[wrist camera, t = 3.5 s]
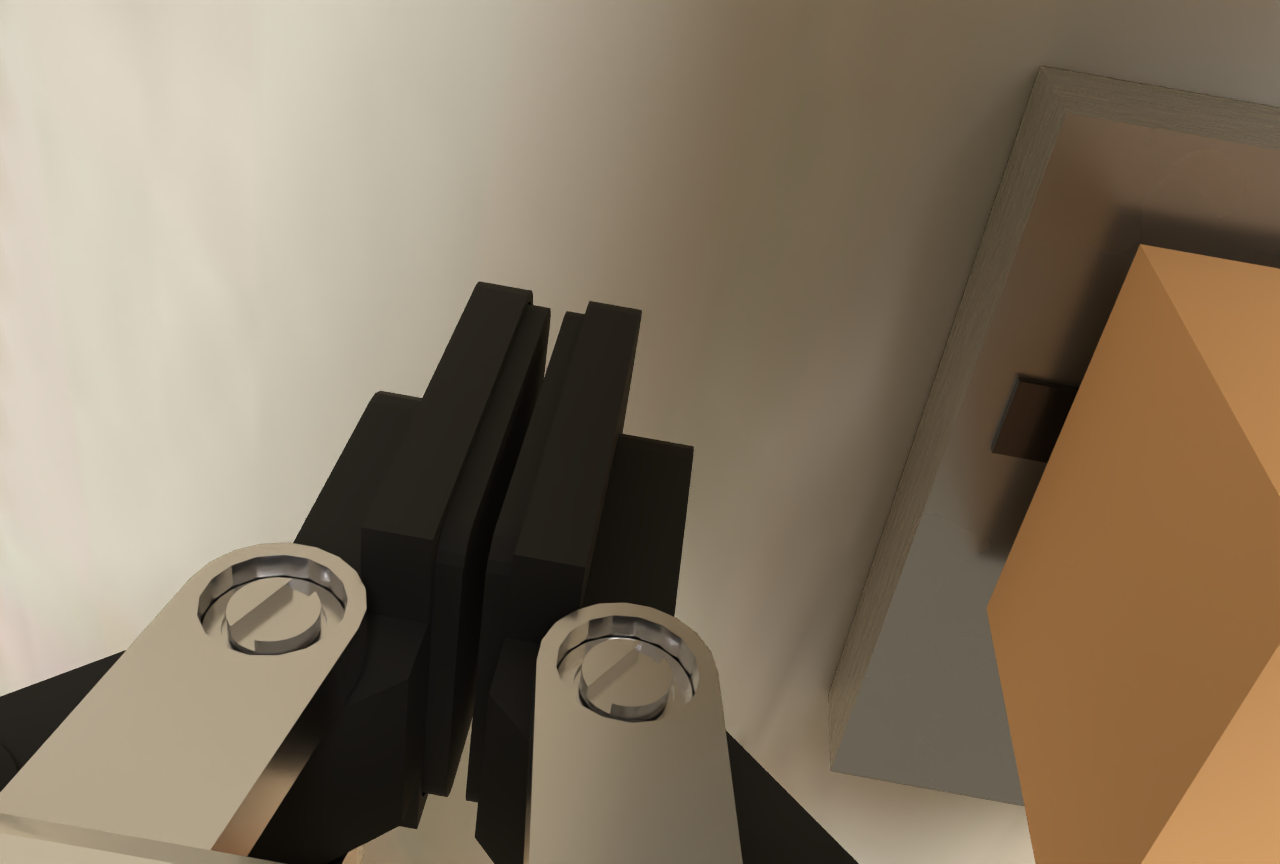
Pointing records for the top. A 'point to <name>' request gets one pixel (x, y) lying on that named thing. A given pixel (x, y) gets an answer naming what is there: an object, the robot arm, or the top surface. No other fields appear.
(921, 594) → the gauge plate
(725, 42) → the top surface
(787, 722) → the top surface
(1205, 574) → the block
